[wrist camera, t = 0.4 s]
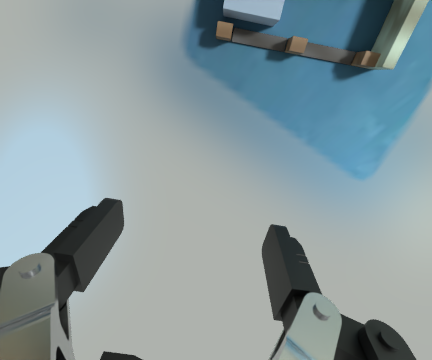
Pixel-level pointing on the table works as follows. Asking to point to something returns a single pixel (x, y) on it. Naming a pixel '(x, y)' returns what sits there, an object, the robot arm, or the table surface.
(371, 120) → the table surface
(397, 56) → the lane
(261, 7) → the brick
